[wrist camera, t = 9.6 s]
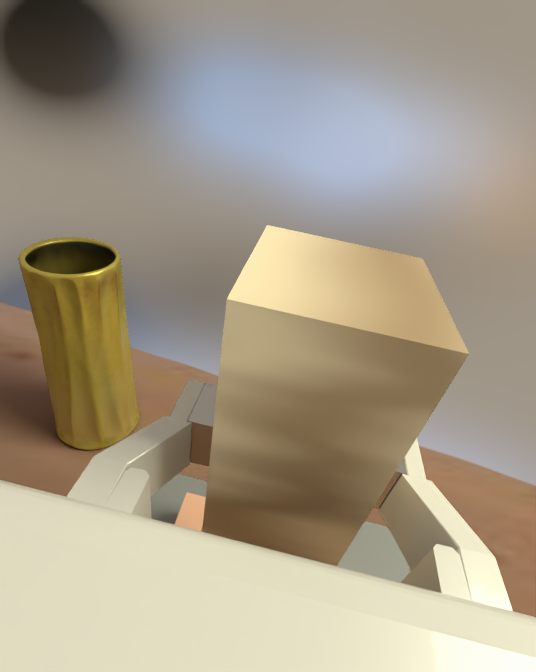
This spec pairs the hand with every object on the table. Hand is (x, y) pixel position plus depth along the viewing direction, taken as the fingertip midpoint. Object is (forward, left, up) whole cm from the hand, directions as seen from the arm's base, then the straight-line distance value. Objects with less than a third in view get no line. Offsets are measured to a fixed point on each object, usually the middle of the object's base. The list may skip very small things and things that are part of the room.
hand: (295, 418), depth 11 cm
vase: (-15, +7, -16) cm, 23 cm away
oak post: (0, -1, -6) cm, 7 cm away
